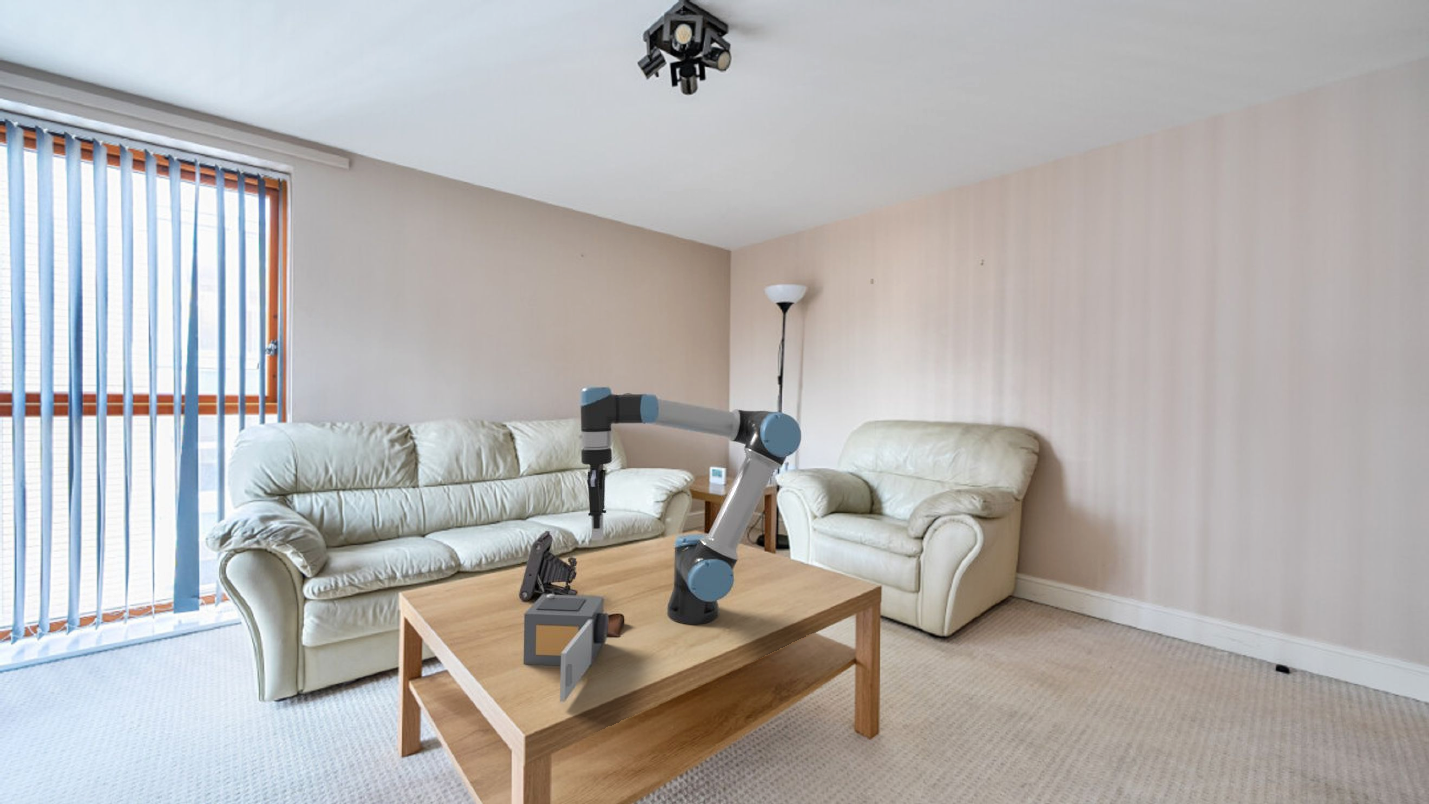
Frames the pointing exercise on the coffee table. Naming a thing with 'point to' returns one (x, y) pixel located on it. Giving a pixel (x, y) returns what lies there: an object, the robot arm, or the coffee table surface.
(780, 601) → the coffee table surface
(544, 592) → the camera
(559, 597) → the panel
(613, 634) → the sunglasses case
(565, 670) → the door
